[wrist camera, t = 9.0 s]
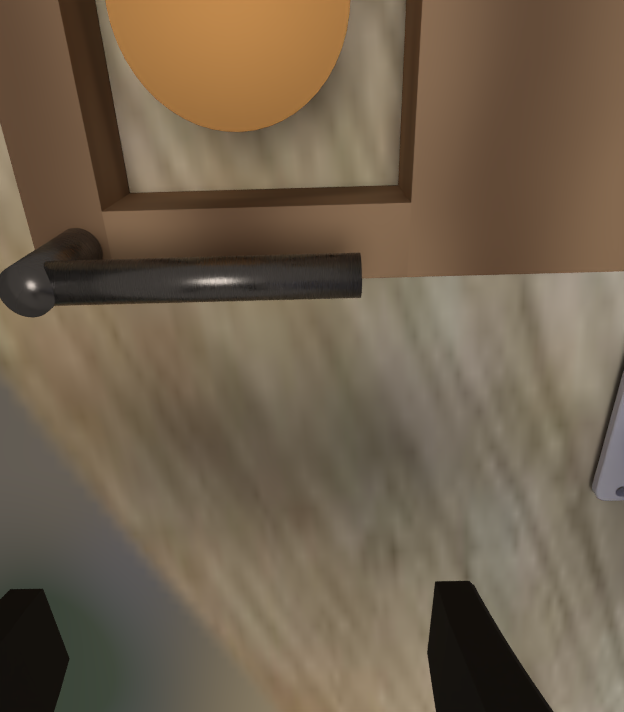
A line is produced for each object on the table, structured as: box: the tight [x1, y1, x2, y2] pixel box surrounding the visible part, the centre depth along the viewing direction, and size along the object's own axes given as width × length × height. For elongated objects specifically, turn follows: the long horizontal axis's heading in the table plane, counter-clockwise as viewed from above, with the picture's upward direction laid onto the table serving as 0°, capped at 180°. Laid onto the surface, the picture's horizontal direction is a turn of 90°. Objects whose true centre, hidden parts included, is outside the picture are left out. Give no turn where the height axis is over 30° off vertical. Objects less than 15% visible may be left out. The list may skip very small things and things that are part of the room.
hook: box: [0, 228, 362, 317], centre depth 14 cm, size 8×1×6 cm, turn 92°
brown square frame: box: [0, 0, 624, 278], centre depth 13 cm, size 16×12×2 cm
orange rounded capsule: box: [105, 0, 350, 132], centre depth 12 cm, size 4×4×5 cm
